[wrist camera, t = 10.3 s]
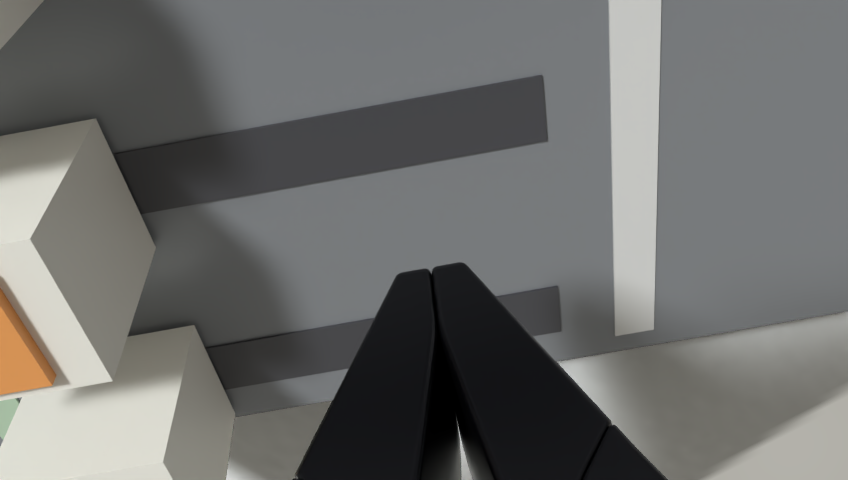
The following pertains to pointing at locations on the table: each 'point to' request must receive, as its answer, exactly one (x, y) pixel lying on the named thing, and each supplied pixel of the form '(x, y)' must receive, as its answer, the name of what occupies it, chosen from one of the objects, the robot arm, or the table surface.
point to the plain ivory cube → (129, 420)
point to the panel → (456, 165)
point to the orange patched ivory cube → (65, 260)
